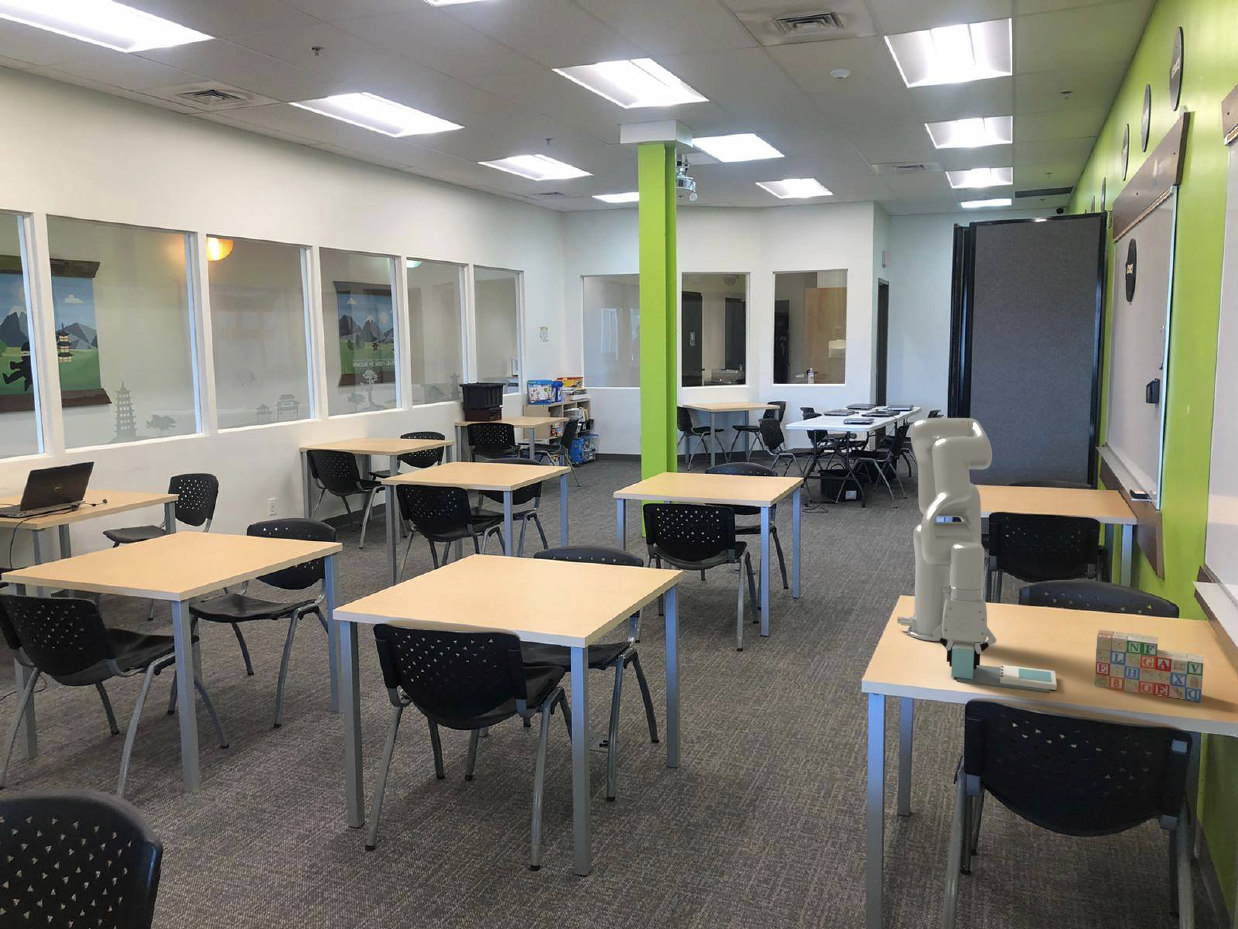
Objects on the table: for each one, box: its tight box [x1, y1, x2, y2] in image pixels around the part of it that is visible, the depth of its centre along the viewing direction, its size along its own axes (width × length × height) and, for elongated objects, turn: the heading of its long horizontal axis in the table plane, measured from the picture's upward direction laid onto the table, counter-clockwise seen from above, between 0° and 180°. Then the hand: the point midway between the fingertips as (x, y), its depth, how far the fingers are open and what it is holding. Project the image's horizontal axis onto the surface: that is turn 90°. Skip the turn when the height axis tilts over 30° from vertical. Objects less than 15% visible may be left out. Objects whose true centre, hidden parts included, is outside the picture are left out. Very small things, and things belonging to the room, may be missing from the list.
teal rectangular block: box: [950, 641, 975, 679], centre depth 226 cm, size 5×10×7 cm, turn 157°
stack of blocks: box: [1094, 629, 1204, 703], centre depth 214 cm, size 21×6×12 cm, turn 59°
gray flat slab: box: [956, 664, 1057, 694], centre depth 223 cm, size 22×13×2 cm, turn 67°
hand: (963, 665), depth 226 cm, fingers closed on teal rectangular block, 4 cm apart
